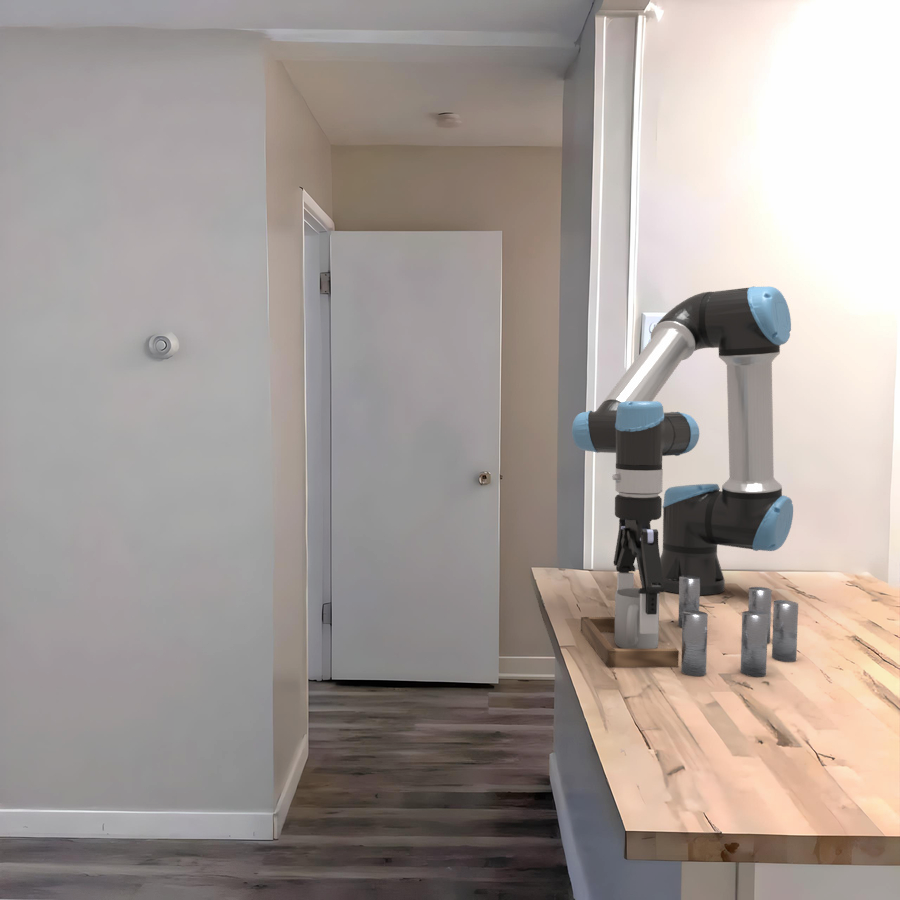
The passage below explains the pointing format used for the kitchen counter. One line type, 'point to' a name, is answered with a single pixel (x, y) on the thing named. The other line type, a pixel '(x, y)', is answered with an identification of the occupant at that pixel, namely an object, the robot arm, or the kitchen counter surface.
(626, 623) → the cup
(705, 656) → the spacers
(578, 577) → the kitchen counter surface
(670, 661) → the bay
